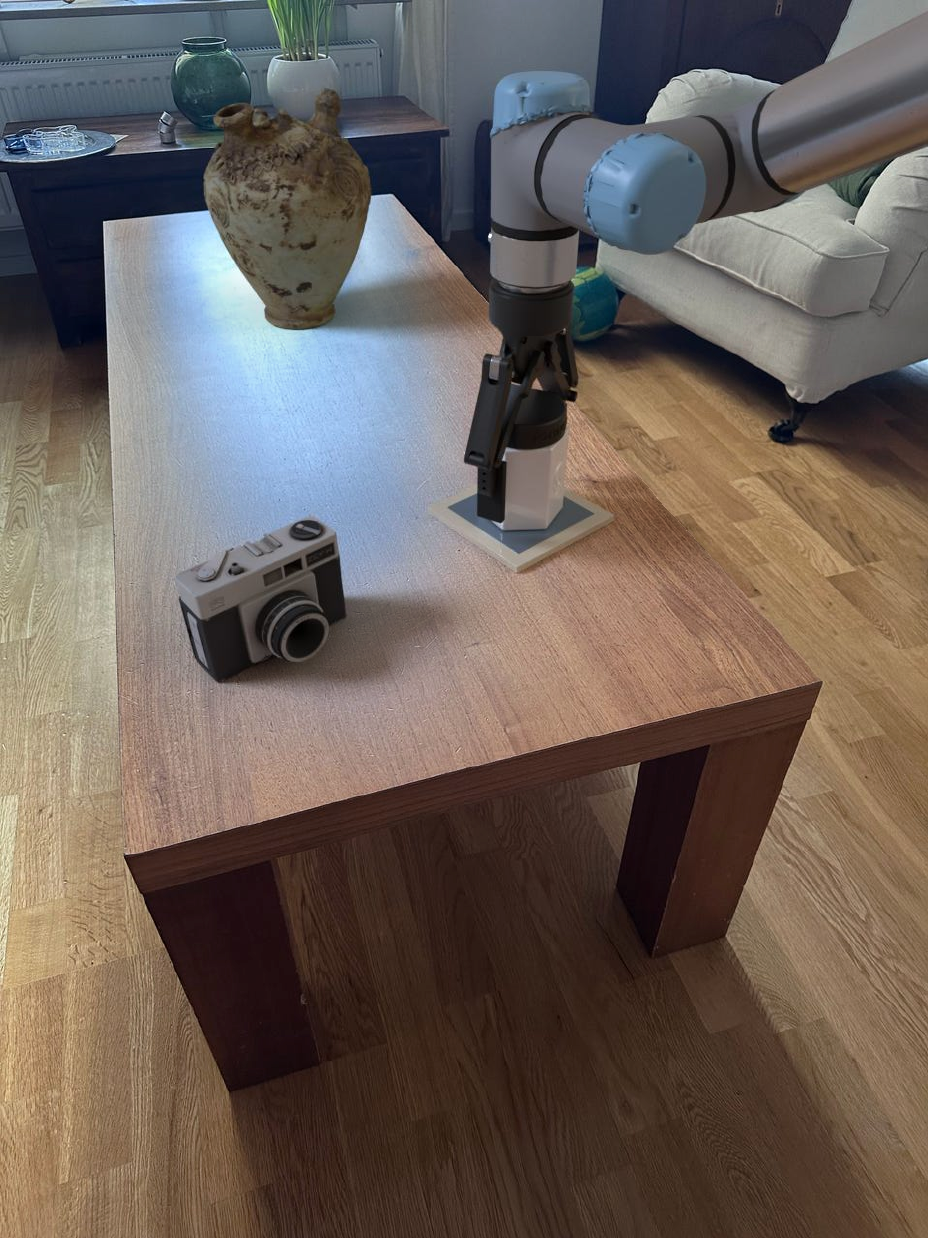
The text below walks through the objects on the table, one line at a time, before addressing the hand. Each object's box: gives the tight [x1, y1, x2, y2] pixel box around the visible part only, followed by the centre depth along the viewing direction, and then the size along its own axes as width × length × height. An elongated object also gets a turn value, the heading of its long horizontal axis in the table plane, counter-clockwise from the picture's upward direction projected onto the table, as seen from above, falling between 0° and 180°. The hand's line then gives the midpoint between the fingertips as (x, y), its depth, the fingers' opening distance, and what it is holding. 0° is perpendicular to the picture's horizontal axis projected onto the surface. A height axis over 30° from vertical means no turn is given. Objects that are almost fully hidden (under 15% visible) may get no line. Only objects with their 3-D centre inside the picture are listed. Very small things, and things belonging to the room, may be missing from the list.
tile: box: [427, 484, 615, 574], centre depth 94 cm, size 14×14×1 cm
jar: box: [492, 388, 570, 531], centre depth 89 cm, size 9×8×12 cm
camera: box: [174, 515, 347, 684], centre depth 75 cm, size 14×9×10 cm, turn 124°
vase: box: [202, 87, 372, 330], centre depth 126 cm, size 23×23×30 cm
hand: (521, 486), depth 91 cm, fingers open, 13 cm apart
